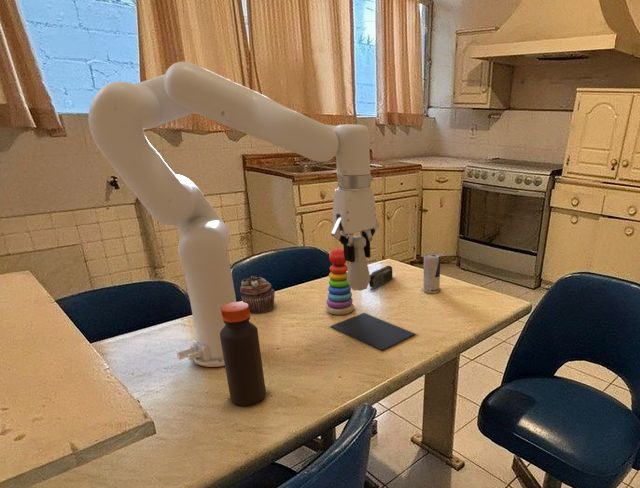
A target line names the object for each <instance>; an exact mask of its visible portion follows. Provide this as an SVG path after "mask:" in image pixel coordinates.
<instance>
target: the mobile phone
mask: <svg viewBox="0 0 640 488" xmlns="http://www.w3.org/2000/svg"><path fill="white" fill-rule="evenodd" d="M392 279H393V266H391V265H385V266H384V267H382V268H379V269H377V270H375V271H372V272H371V273H370V282H369V284H368V286H369V287H370V291H373V290H375V289H376V288H378V287H379V286H382V285H383V284H386V283H387V282H389V281H391V280H392Z"/></svg>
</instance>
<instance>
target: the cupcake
mask: <svg viewBox="0 0 640 488" xmlns="http://www.w3.org/2000/svg"><path fill="white" fill-rule="evenodd" d="M239 292H240V294H239V295H240V298H241V301H242V302H245V303H247V304H248V305H249V310H250V314H262V313H263V314H264V313H267V312H270V311H271V310H273V309H274V307H275V296H276V295H275V293H276V292H275V289H273V288H272V283H270V282H269V281H267V280H266V279H265V278H263V277H262V276H261V275H255V274H251V275H250V277H248V278H245V277H244V278H242V280H241V285H240V288H239Z"/></svg>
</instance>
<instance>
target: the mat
mask: <svg viewBox="0 0 640 488" xmlns="http://www.w3.org/2000/svg"><path fill="white" fill-rule="evenodd" d="M330 328H332V329H334V330H336V331H338V332H340V333H343V334H345V335H347V336H349V337H351V338H353V339H355V340H357V341H360V342H361V343H364V344H366V345H368V346H371V347H373V348H374V349H377V350H379V351H381V352H383V351H385V350H388V349H390V348H392V347H393V346H396V345H398V344H400V343H403V342H404V341H406V340H408V339H410V338H412V337H414V336H416V333H414V332H412V331H409V330H407V329H405V328H403V327H399V326H397V325H394V324H393V323H390V322H387V321H385V320H382V319H380V318H377V317H375V316H372V315H370V314H367V313H365V312H363V313H360V314H357V315H355V316H353V317H350V318H348V319H345V320H343V321H340V322H338V323H335V324H332V325H330Z"/></svg>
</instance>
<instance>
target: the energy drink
mask: <svg viewBox="0 0 640 488" xmlns="http://www.w3.org/2000/svg"><path fill="white" fill-rule="evenodd" d="M422 280H423V281H422V282H423V285H422V286H423V287H422V288H423V292H424V293H427V294H436V293H439V292H440V290H441V289H440V285H441V284H440V283H441V256H440V254H438V253H426V254H424V256H423V279H422Z"/></svg>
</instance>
